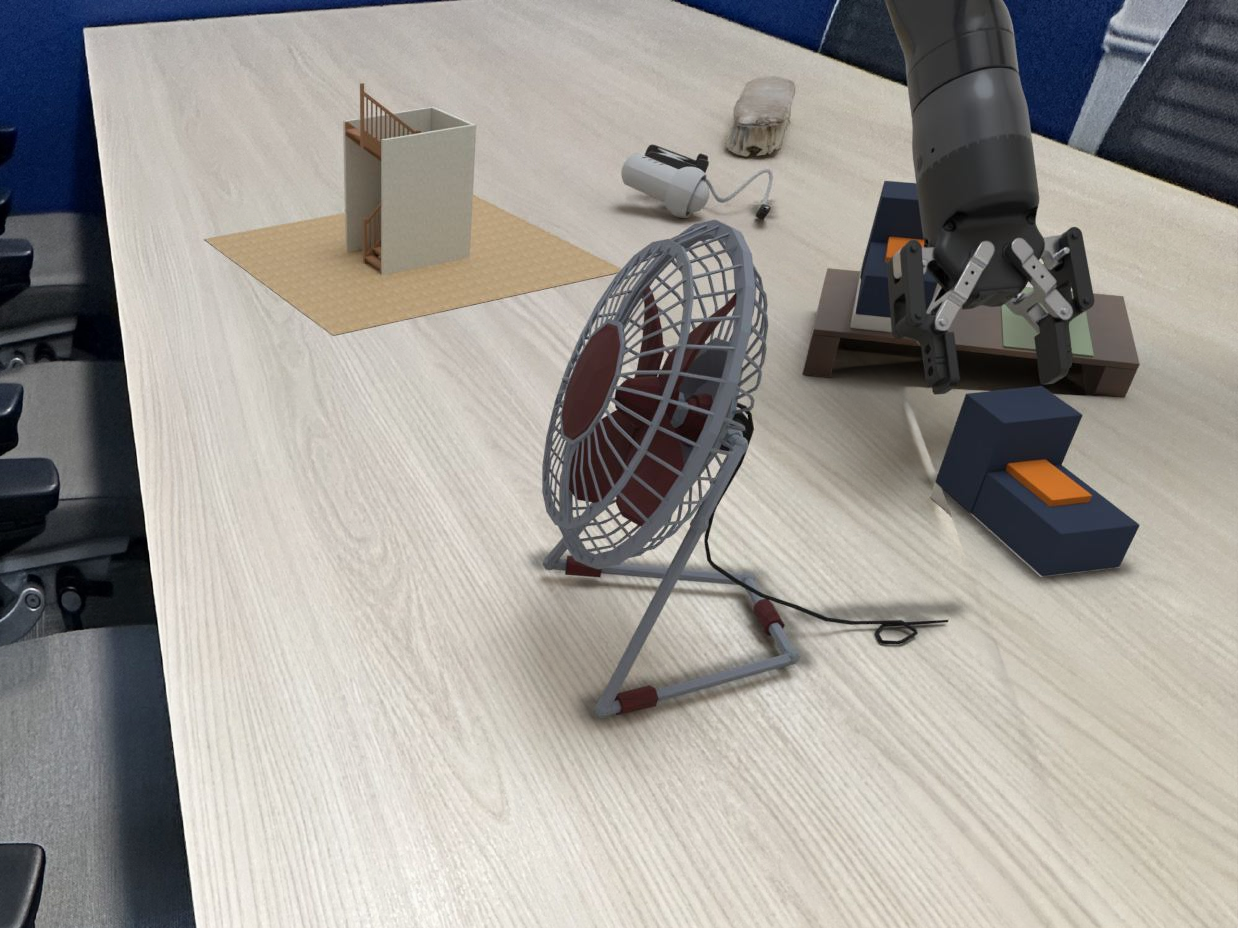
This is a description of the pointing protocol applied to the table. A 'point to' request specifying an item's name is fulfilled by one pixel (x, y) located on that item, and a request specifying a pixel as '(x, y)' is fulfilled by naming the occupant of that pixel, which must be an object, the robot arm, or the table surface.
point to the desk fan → (662, 442)
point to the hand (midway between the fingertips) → (1001, 385)
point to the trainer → (1030, 483)
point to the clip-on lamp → (679, 180)
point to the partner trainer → (888, 255)
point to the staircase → (406, 232)
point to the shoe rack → (989, 335)
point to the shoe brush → (761, 115)
